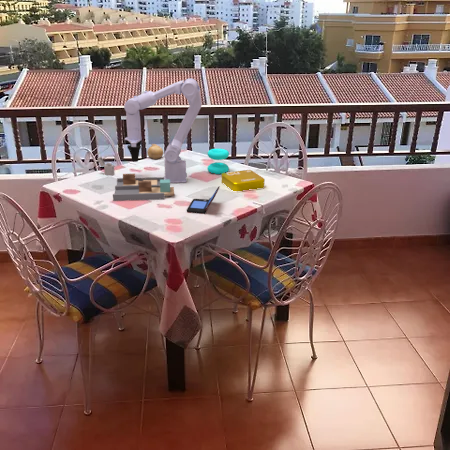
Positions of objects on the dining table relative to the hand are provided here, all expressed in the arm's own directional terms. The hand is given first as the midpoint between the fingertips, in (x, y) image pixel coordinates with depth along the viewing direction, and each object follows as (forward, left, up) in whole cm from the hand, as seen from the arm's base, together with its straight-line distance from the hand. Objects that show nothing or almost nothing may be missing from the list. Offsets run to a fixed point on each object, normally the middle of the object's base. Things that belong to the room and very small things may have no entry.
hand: (135, 158), depth 208 cm
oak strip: (-9, +20, -8) cm, 23 cm away
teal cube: (-12, +20, -8) cm, 24 cm away
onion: (-8, -33, -10) cm, 35 cm away
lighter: (+14, -8, -10) cm, 19 cm away
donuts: (-37, -9, -10) cm, 39 cm away
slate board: (-2, +15, -9) cm, 18 cm away
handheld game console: (-27, +34, -10) cm, 45 cm away
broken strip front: (+2, +10, -8) cm, 13 cm away
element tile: (-46, +10, -10) cm, 48 cm away
